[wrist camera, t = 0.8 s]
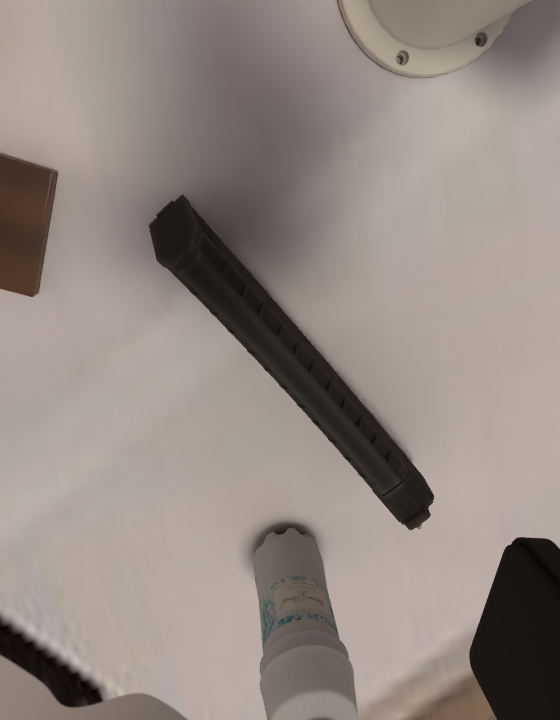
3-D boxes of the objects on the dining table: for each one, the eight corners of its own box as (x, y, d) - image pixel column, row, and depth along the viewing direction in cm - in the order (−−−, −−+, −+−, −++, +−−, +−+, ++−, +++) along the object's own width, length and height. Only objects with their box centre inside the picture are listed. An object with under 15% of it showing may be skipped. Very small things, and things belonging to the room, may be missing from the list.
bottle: (326, 522, 48) (391, 743, 30) (312, 578, 50) (364, 817, 32) (257, 516, 47) (278, 740, 28) (245, 573, 49) (258, 817, 31)
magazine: (97, 202, 28) (435, 609, 29) (140, 162, 28) (482, 577, 29) (182, 237, 45) (394, 494, 46) (209, 213, 45) (423, 473, 46)
